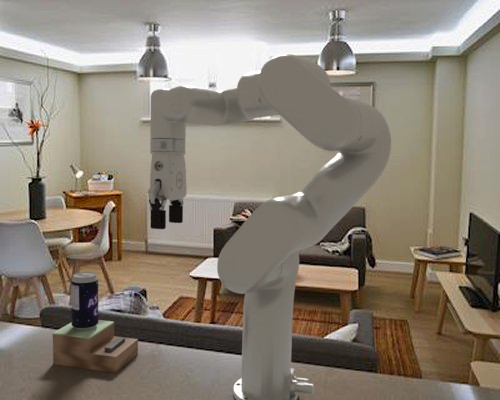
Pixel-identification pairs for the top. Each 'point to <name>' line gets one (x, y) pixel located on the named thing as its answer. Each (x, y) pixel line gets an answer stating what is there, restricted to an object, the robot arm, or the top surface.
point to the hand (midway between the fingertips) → (167, 225)
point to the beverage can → (84, 300)
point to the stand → (93, 348)
